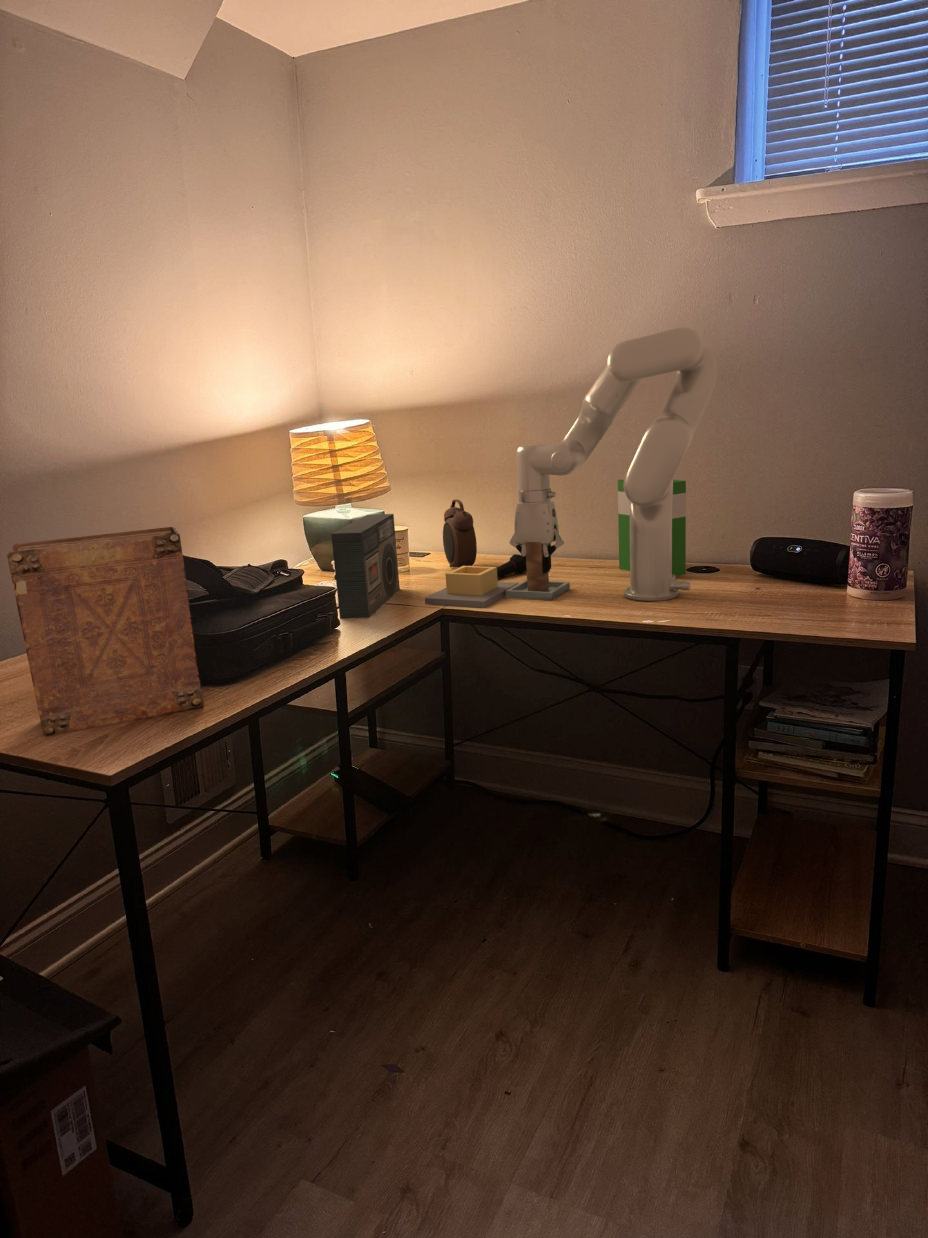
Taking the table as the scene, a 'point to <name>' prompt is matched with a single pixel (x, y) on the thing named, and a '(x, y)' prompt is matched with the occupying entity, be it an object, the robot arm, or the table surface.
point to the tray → (553, 592)
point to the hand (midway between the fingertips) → (537, 571)
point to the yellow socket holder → (470, 588)
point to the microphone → (511, 566)
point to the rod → (536, 568)
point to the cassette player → (365, 565)
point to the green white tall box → (677, 528)
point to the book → (106, 628)
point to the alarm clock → (459, 536)
